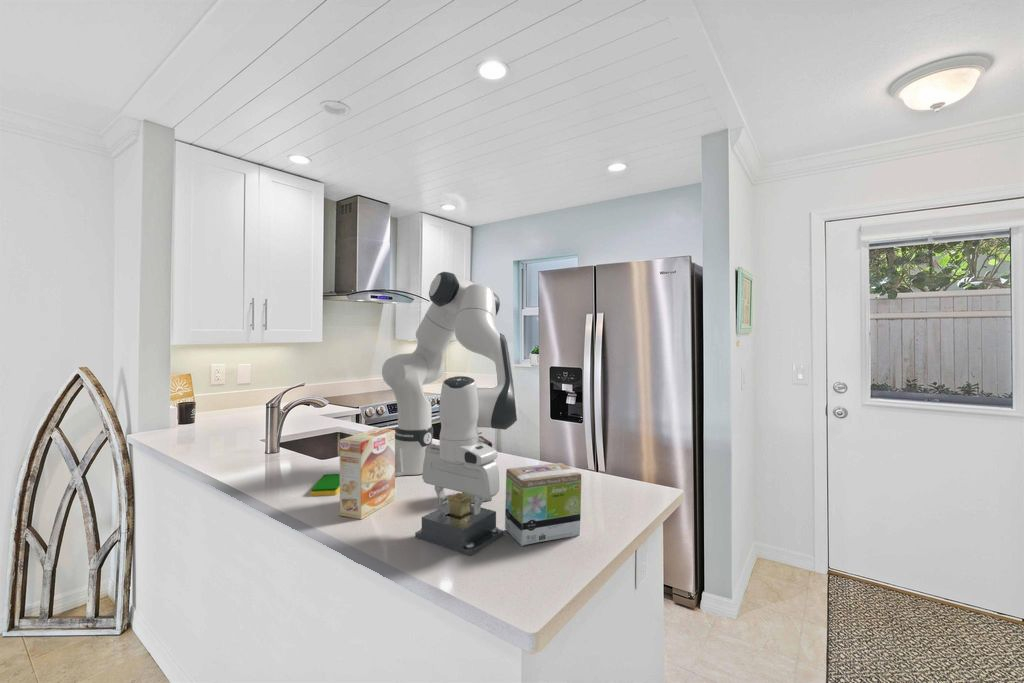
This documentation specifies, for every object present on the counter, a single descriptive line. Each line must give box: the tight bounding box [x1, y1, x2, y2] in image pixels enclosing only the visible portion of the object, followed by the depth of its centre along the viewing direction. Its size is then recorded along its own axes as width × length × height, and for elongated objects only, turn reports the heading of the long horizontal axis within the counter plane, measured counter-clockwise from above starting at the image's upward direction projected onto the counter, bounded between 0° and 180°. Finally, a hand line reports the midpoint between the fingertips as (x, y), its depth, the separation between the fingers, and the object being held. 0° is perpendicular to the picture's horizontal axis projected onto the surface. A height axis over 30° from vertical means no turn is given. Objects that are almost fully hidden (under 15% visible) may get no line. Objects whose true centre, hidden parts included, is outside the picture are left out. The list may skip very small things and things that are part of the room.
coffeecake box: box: [339, 427, 396, 520], centre depth 124 cm, size 15×7×20 cm, turn 160°
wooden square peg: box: [448, 492, 472, 520], centre depth 108 cm, size 4×4×8 cm
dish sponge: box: [310, 473, 340, 497], centre depth 140 cm, size 7×14×2 cm, turn 7°
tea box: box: [504, 462, 582, 547], centre depth 109 cm, size 15×10×15 cm, turn 114°
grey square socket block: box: [414, 503, 504, 556], centre depth 108 cm, size 16×12×5 cm
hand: (459, 509), depth 108 cm, fingers open, 8 cm apart
